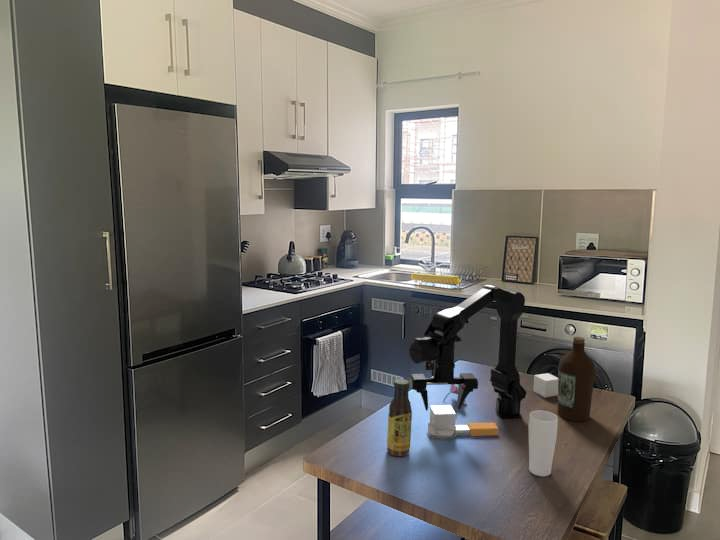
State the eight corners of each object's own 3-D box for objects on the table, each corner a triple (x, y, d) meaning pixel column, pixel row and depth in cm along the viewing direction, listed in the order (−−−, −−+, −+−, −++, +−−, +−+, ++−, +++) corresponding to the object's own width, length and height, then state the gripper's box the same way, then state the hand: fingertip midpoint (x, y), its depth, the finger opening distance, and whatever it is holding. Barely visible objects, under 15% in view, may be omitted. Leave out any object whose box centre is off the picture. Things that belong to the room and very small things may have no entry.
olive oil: (573, 406, 174) (579, 332, 170) (599, 419, 164) (606, 341, 160) (547, 411, 170) (553, 335, 166) (572, 425, 160) (579, 345, 156)
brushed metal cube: (449, 421, 157) (450, 405, 156) (455, 430, 151) (455, 413, 150) (429, 421, 157) (430, 405, 156) (434, 430, 151) (434, 414, 150)
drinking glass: (553, 467, 136) (557, 412, 134) (554, 481, 130) (558, 423, 127) (526, 462, 138) (529, 408, 136) (525, 476, 132) (528, 419, 130)
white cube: (547, 389, 189) (548, 373, 188) (558, 395, 183) (560, 378, 182) (533, 391, 187) (534, 375, 186) (544, 397, 181) (545, 380, 180)
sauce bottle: (394, 460, 139) (395, 387, 136) (382, 449, 145) (383, 379, 141) (415, 454, 142) (417, 383, 139) (402, 444, 148) (404, 375, 144)
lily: (460, 415, 169) (475, 389, 169) (428, 395, 173) (442, 369, 173) (464, 412, 180) (478, 387, 180) (434, 393, 184) (448, 369, 184)
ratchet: (491, 426, 159) (492, 409, 158) (500, 438, 151) (501, 421, 151) (425, 427, 158) (425, 410, 157) (430, 440, 150) (431, 422, 149)
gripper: (468, 348, 159) (466, 398, 162) (406, 349, 158) (405, 399, 160) (479, 360, 148) (477, 413, 151) (413, 361, 147) (411, 415, 149)
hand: (442, 409), depth 153 cm, fingers open, 9 cm apart
